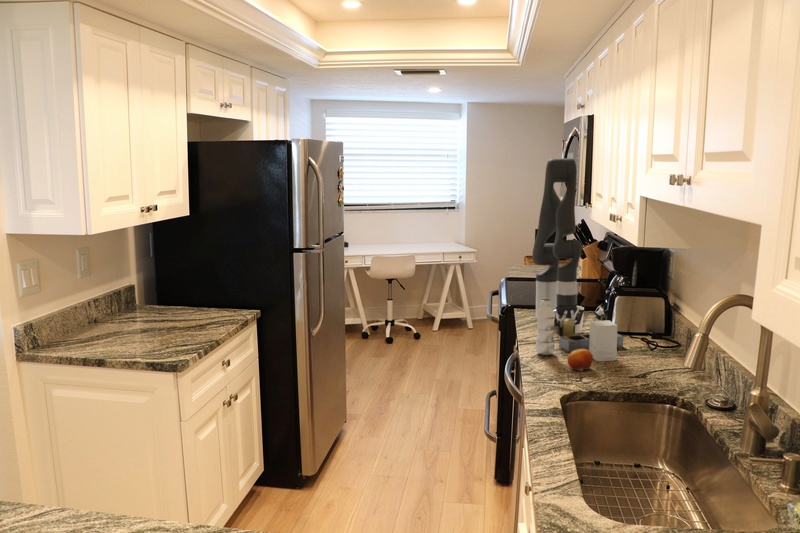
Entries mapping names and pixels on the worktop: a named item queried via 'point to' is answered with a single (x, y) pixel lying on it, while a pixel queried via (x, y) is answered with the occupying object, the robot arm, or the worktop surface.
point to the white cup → (579, 326)
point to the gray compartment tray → (581, 342)
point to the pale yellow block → (568, 328)
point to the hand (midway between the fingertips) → (566, 335)
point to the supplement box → (603, 340)
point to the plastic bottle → (545, 328)
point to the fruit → (580, 359)
